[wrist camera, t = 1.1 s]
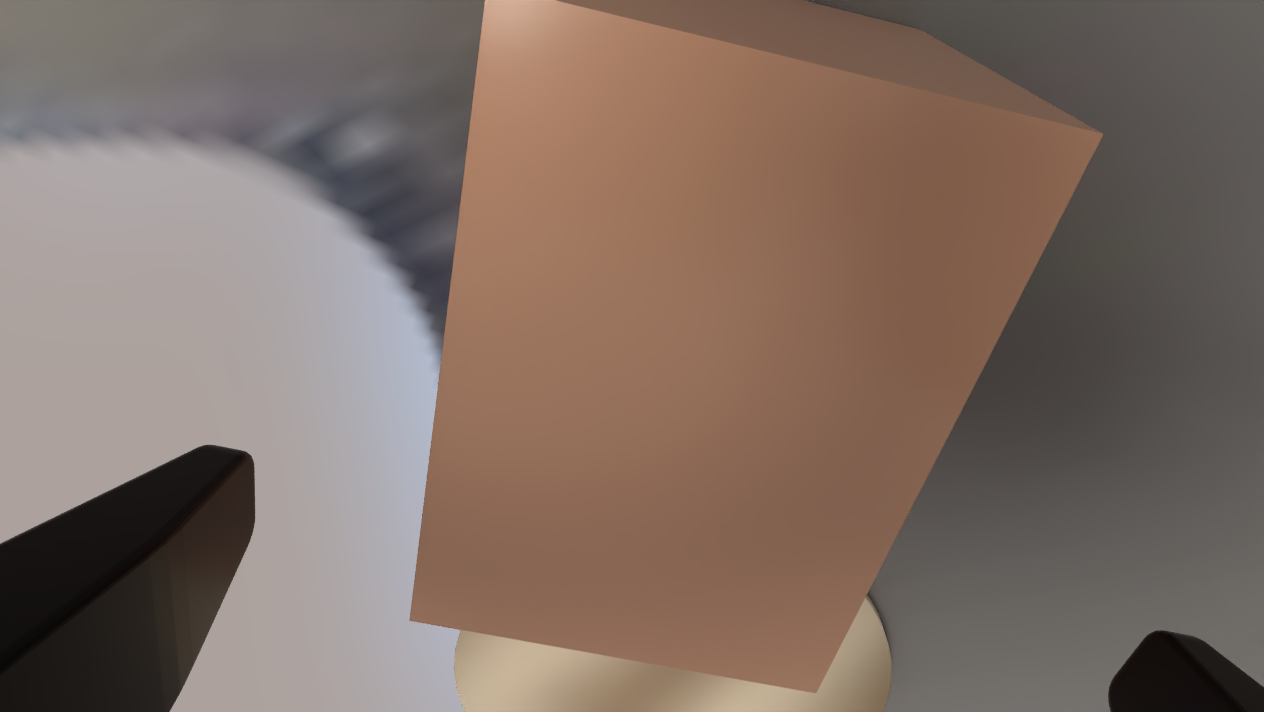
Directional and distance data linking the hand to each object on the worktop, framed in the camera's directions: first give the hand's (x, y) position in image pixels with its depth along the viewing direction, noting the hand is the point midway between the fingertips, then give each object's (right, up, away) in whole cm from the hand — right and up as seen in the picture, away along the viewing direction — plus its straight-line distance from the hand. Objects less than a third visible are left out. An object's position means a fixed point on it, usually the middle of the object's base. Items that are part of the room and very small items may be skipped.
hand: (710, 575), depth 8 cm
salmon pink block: (0, +5, +8) cm, 10 cm away
